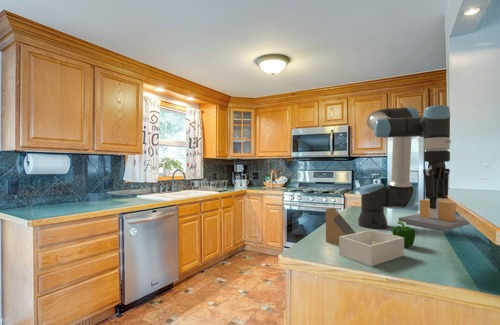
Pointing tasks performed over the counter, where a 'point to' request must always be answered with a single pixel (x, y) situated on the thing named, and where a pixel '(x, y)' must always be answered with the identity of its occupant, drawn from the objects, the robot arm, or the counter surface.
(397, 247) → the tub
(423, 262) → the counter surface
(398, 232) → the bell pepper
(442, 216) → the lid
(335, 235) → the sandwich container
